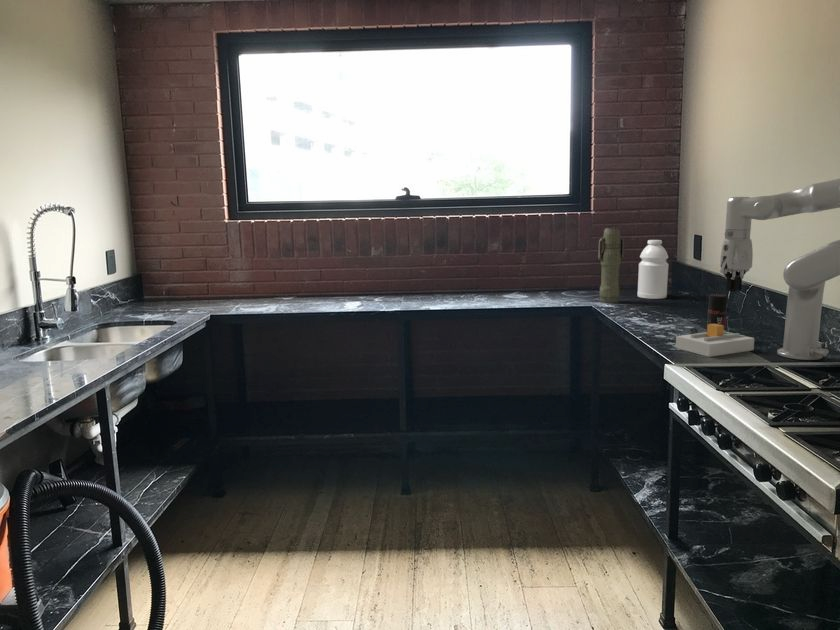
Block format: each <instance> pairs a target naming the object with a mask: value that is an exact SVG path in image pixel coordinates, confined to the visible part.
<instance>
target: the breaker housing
mask: <svg viewBox="0 0 840 630" xmlns="http://www.w3.org/2000/svg"><path fill="white" fill-rule="evenodd" d="M675 349H678V350H682V351H686V352H689V353H694V354H697V355H702V356H704V357H709V358H710V357H716V356H723V355H724V356H725V355H730V354H735V353H736V354H737V353H742V352H743V353H744V352H750V351H754V350H755V337H751V336H746V335H743V334H741V333H738V332H737V333H734V332H730V331H726V330H725V331H724V334H723V335H721V336H713V337H708V336H707V331H706V332H705V331H704V332H699V333H698V332H697V333H692V334H691V333H690V334H683V335H676V337H675Z"/></svg>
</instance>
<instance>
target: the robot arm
mask: <svg viewBox="0 0 840 630" xmlns="http://www.w3.org/2000/svg"><path fill="white" fill-rule="evenodd" d="M839 208H840V178H837V179H832V180H827V181H821V182H818V183H811V184H810V185H807V186H805V187H802V188H800V189H796V190H793V191H786V192H782V193H778V194H772V195H760V196H754V197H750V196H732V197H729V198H728V199H727V202H726V214H725V230H724V239H723V242H722V246H721V253H720V260H719V261H720V264H719V265H720V270H719V272H720V273H721V274H722V275H724V276H725V279H726V282H725V283H726V284H725V285H726V287H725V290H726V291H727V292H736V291H737V292H741V291H742V283H743V279H744V277H745V275H746V273H748V272H749V271H750V269H752V267H753V260H754V259H753V258H754V257H753V256H754V255H753V254H754V253H753V242H752V241H753V240H752V239H751V231H752V220H756V221H767V220H774V219H779V218H783V217H784V218H785V217H788V216H794V215H799V214H805V213H809V214H810V213H812V214H813V213H817V212H823V211H828V210H834V209H839ZM782 274H783V280H784V282H785V284H787V286H788V293H787V300H786V301H787V302H786V311H785V312H786V313H785V322H784V333H783V334H784V335H783V345H782V347H781V348H778V349H777V352H776V353H777V355H779V356H780V357H784V358H788V359H793V360H800V361H801V360H802V361H815V360H821V359H823V357H827V356H828V354H829V352H830V351H829V349H827V348H823V347H822V343H820V342H819V338H820V328H821V327H820V326H821V316H822V306H823V300H824V291H825V285H826V282H827V281H829V280H832V279H834V278H836V277H838V276H840V239H837V240H835V241H832V242H830V243H828V244H827V243H826V244H825V245H823V246H821V247H819V248H816V249H814V250H812V251H811V252H807V253H806V254H803V255H802V256H799V257H797V258H795V259H793V260H791V261H790V262H788V264H786V265H785V267H784V270H783V273H782Z"/></svg>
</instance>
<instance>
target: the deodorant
mask: <svg viewBox="0 0 840 630" xmlns="http://www.w3.org/2000/svg"><path fill="white" fill-rule="evenodd" d="M727 304H728V295H727V294H722V293H720V294H719V293H710V294H708V307H707V324H706V328H707V327H708V324H719V325H723V326H724V331H726V321H727V320H726V319H727V318H726V317H727Z"/></svg>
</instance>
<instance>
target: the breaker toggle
mask: <svg viewBox="0 0 840 630" xmlns="http://www.w3.org/2000/svg"><path fill="white" fill-rule="evenodd" d="M706 332H707V336H708V337H713V336H721V335H723V334H724V326H723V325H719V324H708V327H707V326H706Z"/></svg>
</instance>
